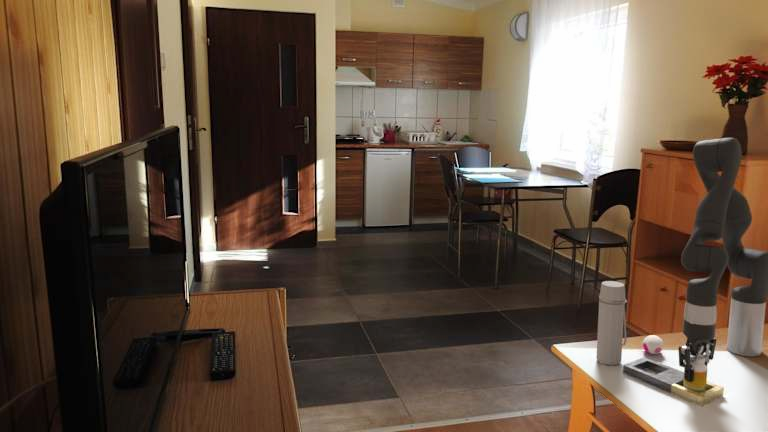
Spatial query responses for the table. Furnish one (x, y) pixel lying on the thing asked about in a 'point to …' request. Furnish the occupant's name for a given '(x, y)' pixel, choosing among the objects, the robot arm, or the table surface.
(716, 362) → the table surface
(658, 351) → the stress ball
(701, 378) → the supplement bottle
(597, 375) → the table surface
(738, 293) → the robot arm
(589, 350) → the table surface
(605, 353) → the water bottle
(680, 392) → the rail
